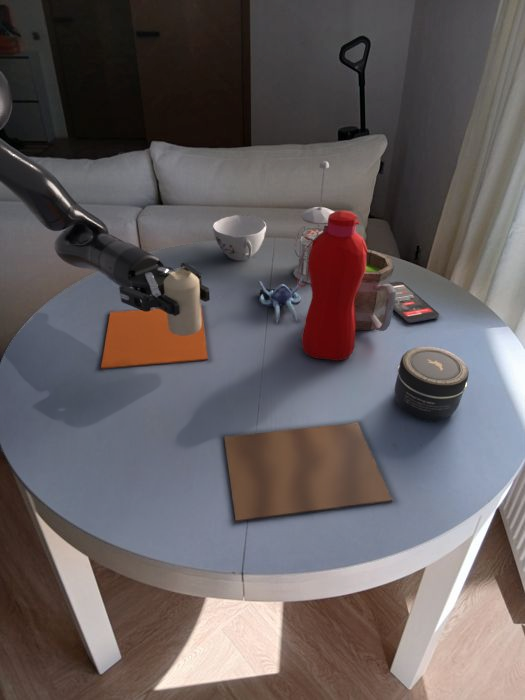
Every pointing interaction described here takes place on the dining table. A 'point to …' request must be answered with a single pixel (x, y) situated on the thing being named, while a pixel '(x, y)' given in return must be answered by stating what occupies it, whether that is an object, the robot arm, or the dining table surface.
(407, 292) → the smartphone
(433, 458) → the dining table surface
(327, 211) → the french press
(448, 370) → the jar
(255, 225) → the teacup
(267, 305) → the figurine
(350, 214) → the water bottle
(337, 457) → the brown flat board
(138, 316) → the towel
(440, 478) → the dining table surface
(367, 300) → the mug
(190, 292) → the candle
